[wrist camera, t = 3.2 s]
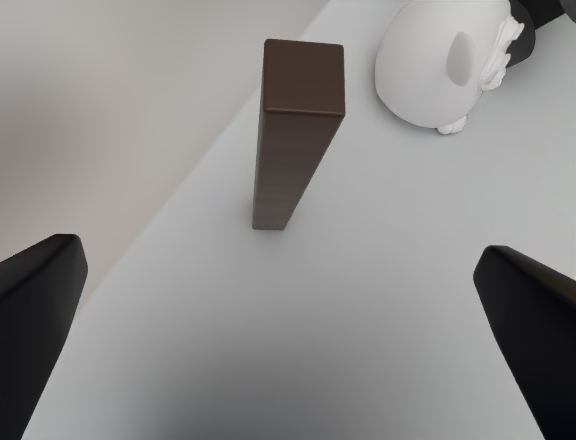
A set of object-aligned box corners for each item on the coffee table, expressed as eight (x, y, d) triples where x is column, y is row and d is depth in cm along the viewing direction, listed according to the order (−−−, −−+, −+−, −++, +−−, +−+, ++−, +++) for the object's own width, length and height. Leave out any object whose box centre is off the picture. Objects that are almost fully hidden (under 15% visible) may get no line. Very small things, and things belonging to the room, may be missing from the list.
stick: (284, 230, 19) (346, 116, 7) (252, 229, 19) (262, 111, 7) (284, 199, 19) (344, 43, 7) (253, 198, 19) (264, 36, 7)
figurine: (444, 165, 20) (534, 105, 14) (343, 109, 21) (387, 24, 14) (494, 56, 22) (593, -41, 16) (400, 6, 22) (462, -111, 16)
